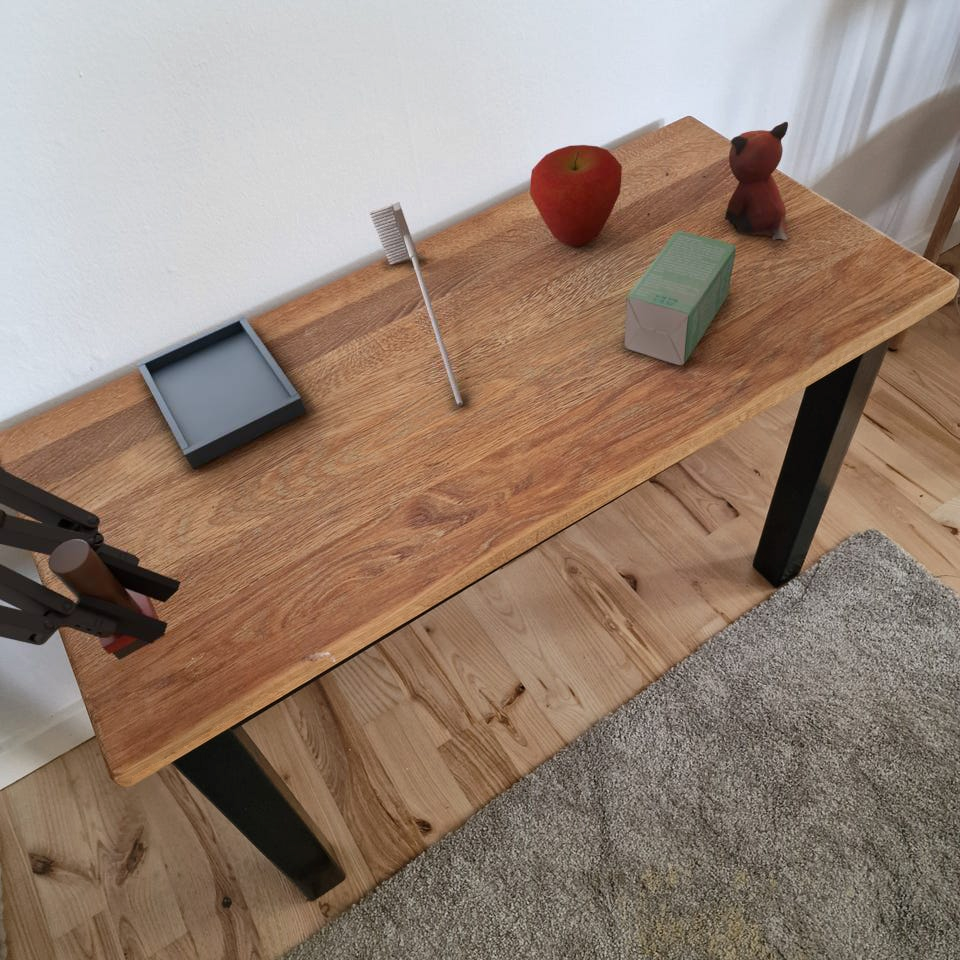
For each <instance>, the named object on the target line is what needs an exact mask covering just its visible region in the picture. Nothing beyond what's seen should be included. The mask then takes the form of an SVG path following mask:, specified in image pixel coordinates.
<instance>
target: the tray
mask: <svg viewBox="0 0 960 960" xmlns="http://www.w3.org/2000/svg"><path fill="white" fill-rule="evenodd" d="M136 366H137V367H138V369H139V372H140V373H141V375H142V377H143V379H144V381H145V382H146V383H145V384H147V387H148V389H149V390H150V393H151V394H152V396H153V398H154V400H155V402H156V403H157V405H158V407H159V409H160V411H161V413H162V415H163V418H164V419H165V421H166V423H167V425H168V427H169V429H170V430H171V432H172V434H173V436H174V438H175V440H176V442H177V444H178V446H179V447H180V449H181V451H182V453H183V455H184V456H185V457H184V458H186V460H187V462H188V464H189V465H190V467H191V468H192V469H196V468H197V467H199V466H202V465H203V464H205V463H207V462H209V461H211V460H213V459H215V458H217V457H219V456H222V455H223V454H225V453H227V452H229V451H231V450H233V449H235V448H237V447H240V446H241V445H244V444H246V443H248V442H250V441H252V440H253V439H255V438H258V437H260V436H262V435H263V434H265V433H267V432H269V431H272V430H273V429H275V428H278V427H280V426H282V425H284V424H285V423H287V422H290V421H291V420H293V419H295V418H298V417H299V416H302V415H304V414H306V413H307V409H306V405H305V404H304V402H303V401H304V400H303V398H302V397H301V395H300V394H299V392H298V391H297V390H296V388H295V387H294V385H293V384H292V383H291V381H290V380H289V378H288V376H287V375H286V374H285V373H284V371H283V370H282V368H281V367H280V365H279V364H278V362H277V361H276V359H275V358H274V357H273V355H272V354H271V352H270V351H269V350H268V348H267V347H266V345H265V344H264V343H263V341H262V340H261V338H260V337H259V335H258V334H257V333H256V331H255V330H254V328H253V327H252V325H251V324H250V322H249V321H248V319H247V318H246V317H245V316H244V314H242V315H239V316H237V317H235V318H232V319H230V320H228V321H226V322H224V323H222V324H219V325H217V326H216V327H213V328H211V329H209V330H207V331H206V330H205V331H204V332H201V333H200V334H197V335H195V336H193V337H190V338H189V339H187V340H184V341H182V342H180V343H178V344H175V345H174V346H173V345H172V346H170V347H169V348H166V349H164V350H162V351H159V352H157V353H155V354H154V355H151V356H149V357H147V358H145V359H142V360H140V361H137V362H136Z"/></svg>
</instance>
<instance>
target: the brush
mask: <svg viewBox="0 0 960 960" xmlns="http://www.w3.org/2000/svg"><path fill="white" fill-rule="evenodd" d="M369 215H370V218H371V221H372V223H373V225H374V228H375V230H376V233H377V236H378V238H379V240H380V244H381V245H382V248H383V251H384V253H385V255H386V257H387V260H388V263H389V266H392V265H395V264H399V263H402V262H404V261H407V260H410V261H411V262H412V265H413V268H414V271H415V274H416V277H417V280H418V283H419V287H420V290H421V294H422V296H423V301H424V303H425V305H426V306H425V307H426V309H427V313H428V315H429V320H430V322H431V325H432V328H433V331H434V334H435V339H436V342H437V345H438V348H439V351H440V354H441V357H442V360H443V363H444V366H445V370H446V373H447V376H448V379H449V383H450V386H451V389H452V392H453V395H454V398H455V402H456V405H457V406H458V407H460V406H463V405H464V402H463V400H462V396H461V393H460V390H459V387H458V384H457V380H456V377H455V374H454V371H453V367H452V365H451V361H450V359H449V355H448V352H447V349H446V346H445V343H444V340H443V337H442V333H441V330H440V327H439V324H438V321H437V318H436V315H435V311H434V308H433V306H432V302H431V299H430V295H429V292H428V289H427V287H426V283H425V280H424V276H423V273H422V270H421V267H420V264H419V263H420V258H419V255H418V253H417V252H418V251H417V249H416V246H415V244H414V240H413V237H412V235H411V232H410V229H409V226H408V224H407V220H406V218H405V214H404V211H403V209H402V206H401V203H400V201H398V202H395V203H390V204H389V205H387V206H384V207H381V208H378V209H375V210H373V211H370V212H369Z"/></svg>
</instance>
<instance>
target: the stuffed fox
mask: <svg viewBox="0 0 960 960" xmlns="http://www.w3.org/2000/svg"><path fill="white" fill-rule="evenodd" d="M788 128H789V122H788V121H784V122H782V123H780V124H778V125H775V126H774V127H773V128H772V129H771V130H766V129H765V130H764V129H761V130H760V129H759V130H750V131H746V132H743V133H742V132H741V133H740V134H739V135H736V136H734V137H732V138H731V140H730V145H731V146H730V149H729V153H728V163H729V167H730V170H731V173H732V175H733V176H734V178H735V179H736V181H738V184H737V186H736V188H735V189H734V191H733V193H732V194H731V197H730V199H729V202H728V205H727V208H726V211H725V216H724V220H727V221H728V222H729V224H730V225H731V226H733V228H734V229H735V230H736V232H737V233H738V234H739V233H740V234H742V235H748V236H761V237H770V238H771V239H772V240H773V241H782V242H784V241H787V240H788V234H787V229H786V226H785V218H786V214H787V212H786V204H785V202H784V200H783V198H782V196H781V193H780V189H779V186H778V185H777V182H776V181H775V179H774V176H773V175H772V174H773V173H774V172H775V171H776V169H777V168H778V166H779V164H780V162H781V161H782V158H783V157H782V156H783V144H782V140H783V138H784V137H785V136H786V134H787V131H788Z"/></svg>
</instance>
